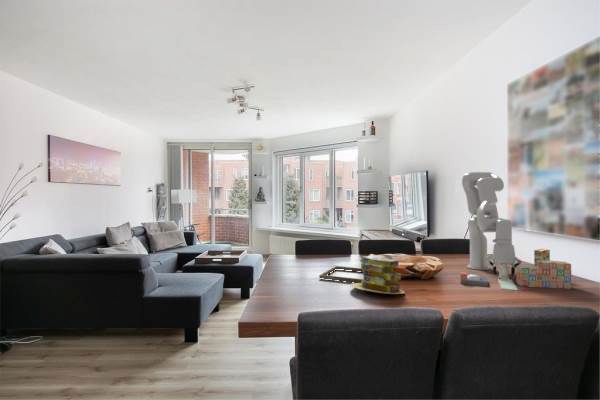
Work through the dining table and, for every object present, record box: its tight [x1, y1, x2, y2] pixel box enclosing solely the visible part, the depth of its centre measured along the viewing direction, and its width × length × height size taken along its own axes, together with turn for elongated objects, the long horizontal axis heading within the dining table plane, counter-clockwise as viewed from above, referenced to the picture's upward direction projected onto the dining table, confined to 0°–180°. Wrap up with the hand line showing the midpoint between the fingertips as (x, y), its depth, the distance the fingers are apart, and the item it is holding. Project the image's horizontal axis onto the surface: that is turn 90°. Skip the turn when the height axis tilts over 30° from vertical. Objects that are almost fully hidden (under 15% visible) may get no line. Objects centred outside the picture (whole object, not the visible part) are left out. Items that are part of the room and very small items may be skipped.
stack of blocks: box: [515, 260, 572, 290], centre depth 164 cm, size 21×6×12 cm, turn 77°
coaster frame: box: [318, 265, 364, 283], centre depth 185 cm, size 26×26×2 cm
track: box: [497, 277, 519, 292], centre depth 166 cm, size 21×6×1 cm, turn 154°
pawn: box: [497, 263, 510, 279], centre depth 179 cm, size 5×5×9 cm
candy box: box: [533, 248, 551, 266], centre depth 179 cm, size 9×4×15 cm, turn 121°
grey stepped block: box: [460, 271, 489, 287], centre depth 171 cm, size 12×12×6 cm
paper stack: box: [349, 253, 405, 295], centre depth 155 cm, size 25×25×17 cm
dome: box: [467, 274, 481, 280], centre depth 171 cm, size 6×6×3 cm
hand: (503, 274), depth 179 cm, fingers open, 7 cm apart
